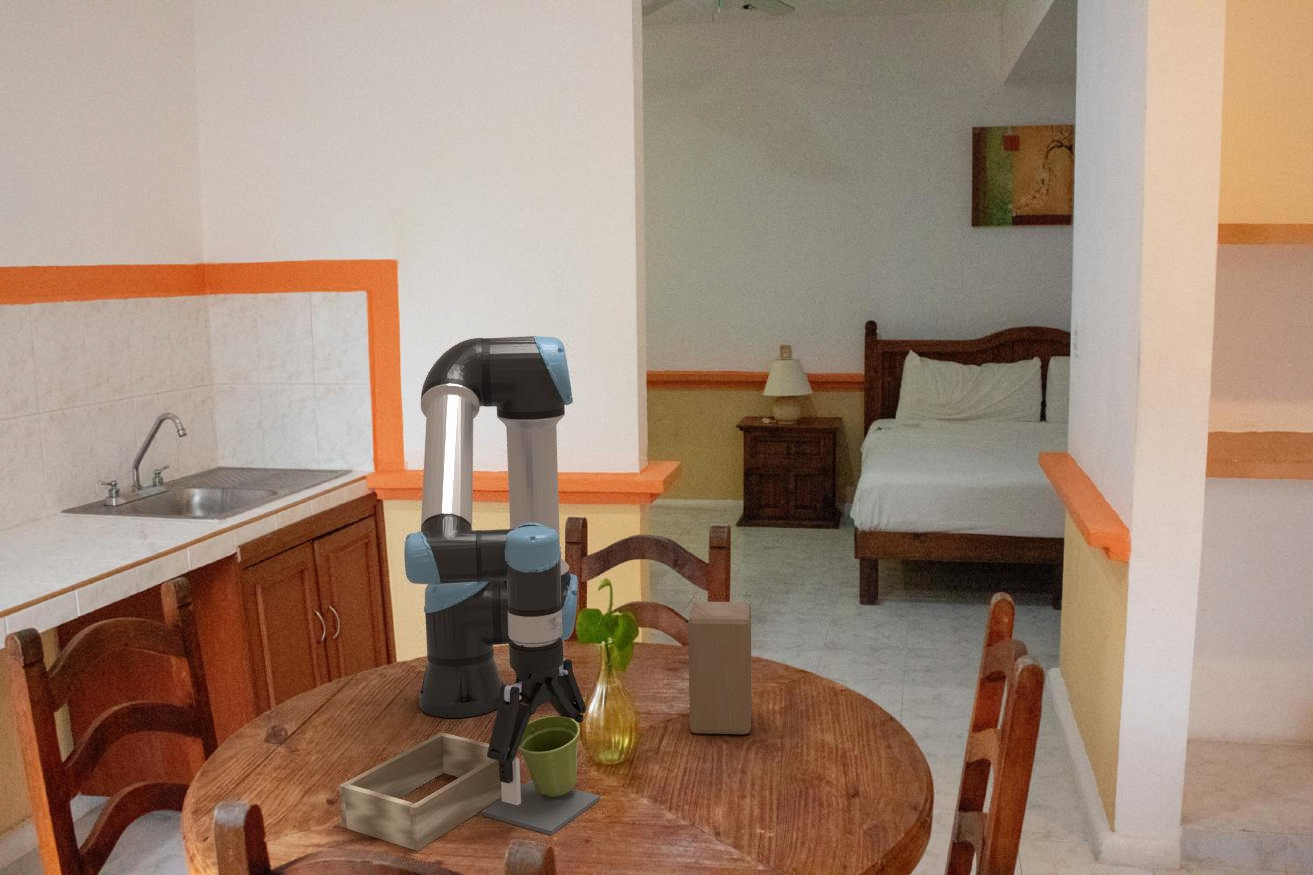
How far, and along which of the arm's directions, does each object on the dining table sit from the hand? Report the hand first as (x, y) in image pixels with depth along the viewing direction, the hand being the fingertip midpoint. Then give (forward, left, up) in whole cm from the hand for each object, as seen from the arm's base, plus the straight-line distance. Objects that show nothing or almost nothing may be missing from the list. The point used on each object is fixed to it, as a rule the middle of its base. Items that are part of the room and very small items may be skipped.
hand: (540, 783), depth 163 cm
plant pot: (0, +4, -2) cm, 4 cm away
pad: (0, 0, -4) cm, 4 cm away
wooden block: (+9, +39, -4) cm, 40 cm away
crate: (-14, -8, -4) cm, 16 cm away
